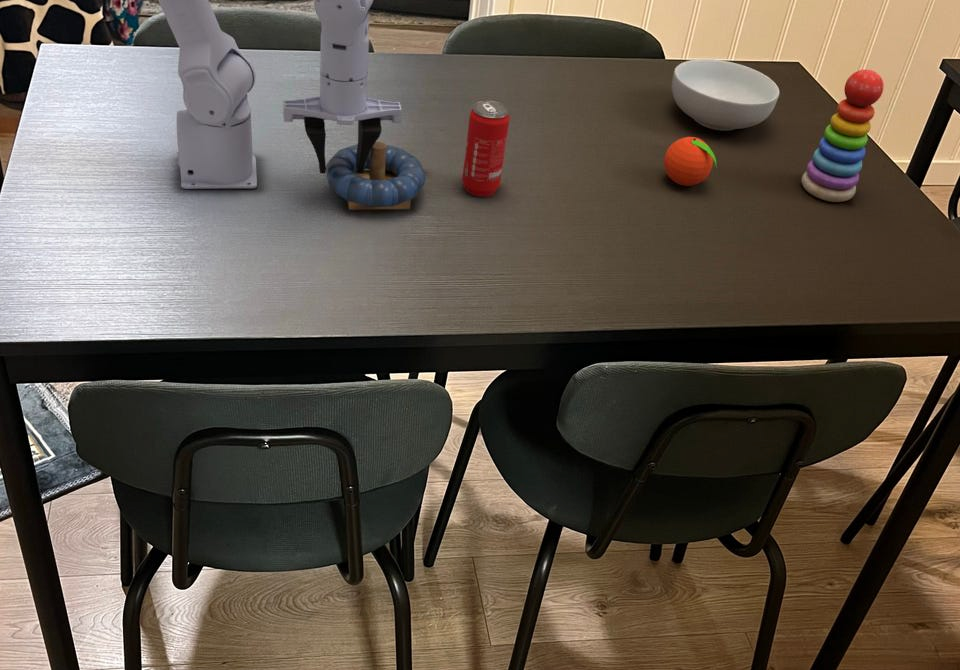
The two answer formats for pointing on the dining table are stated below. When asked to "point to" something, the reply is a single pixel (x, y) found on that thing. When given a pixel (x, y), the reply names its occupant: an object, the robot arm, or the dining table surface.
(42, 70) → the dining table surface
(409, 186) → the ring
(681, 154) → the clementine
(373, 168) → the stand
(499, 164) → the beverage can
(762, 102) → the cereal bowl
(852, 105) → the stacking toy
